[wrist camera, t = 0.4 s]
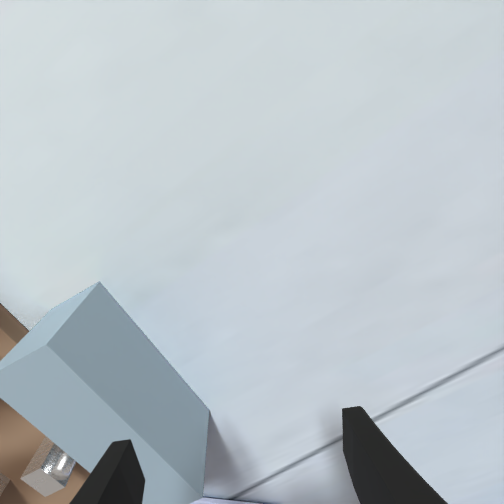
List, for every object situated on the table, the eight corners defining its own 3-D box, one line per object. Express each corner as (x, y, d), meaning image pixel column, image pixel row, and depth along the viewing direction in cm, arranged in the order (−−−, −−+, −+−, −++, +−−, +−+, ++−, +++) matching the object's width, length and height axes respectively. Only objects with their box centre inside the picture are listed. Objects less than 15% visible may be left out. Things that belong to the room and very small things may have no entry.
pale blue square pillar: (209, 408, 23) (202, 497, 18) (156, 433, 24) (133, 528, 18) (100, 280, 19) (46, 344, 13) (39, 315, 20) (-37, 390, 14)
